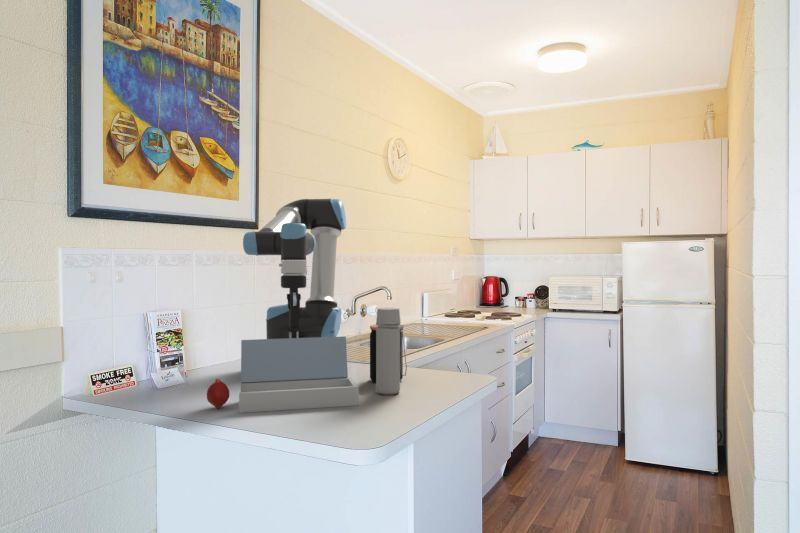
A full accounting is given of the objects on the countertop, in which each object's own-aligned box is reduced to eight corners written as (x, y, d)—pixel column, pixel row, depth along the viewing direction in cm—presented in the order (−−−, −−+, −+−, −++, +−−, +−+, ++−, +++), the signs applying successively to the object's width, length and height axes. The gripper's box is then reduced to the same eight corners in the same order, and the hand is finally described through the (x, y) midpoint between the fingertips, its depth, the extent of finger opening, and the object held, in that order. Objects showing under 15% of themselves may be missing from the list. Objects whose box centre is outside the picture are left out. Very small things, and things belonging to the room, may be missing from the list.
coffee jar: (399, 385, 175) (399, 328, 175) (366, 383, 177) (366, 327, 177) (405, 378, 186) (405, 324, 186) (374, 376, 188) (374, 323, 188)
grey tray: (241, 401, 155) (240, 383, 155) (351, 394, 163) (351, 377, 163) (239, 412, 144) (239, 393, 144) (358, 405, 151) (358, 386, 151)
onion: (207, 406, 150) (206, 376, 150) (229, 404, 152) (229, 375, 152) (206, 412, 145) (205, 381, 144) (229, 410, 146) (229, 379, 146)
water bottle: (377, 396, 161) (377, 310, 161) (374, 390, 169) (374, 307, 168) (408, 395, 162) (408, 309, 162) (404, 388, 170) (404, 307, 170)
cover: (241, 385, 156) (241, 341, 160) (347, 379, 164) (345, 337, 168) (240, 384, 155) (241, 340, 159) (347, 379, 162) (345, 336, 166)
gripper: (280, 274, 173) (280, 350, 173) (281, 275, 160) (281, 357, 160) (304, 274, 174) (304, 349, 175) (307, 275, 162) (308, 356, 162)
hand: (293, 353), depth 167 cm, fingers closed
